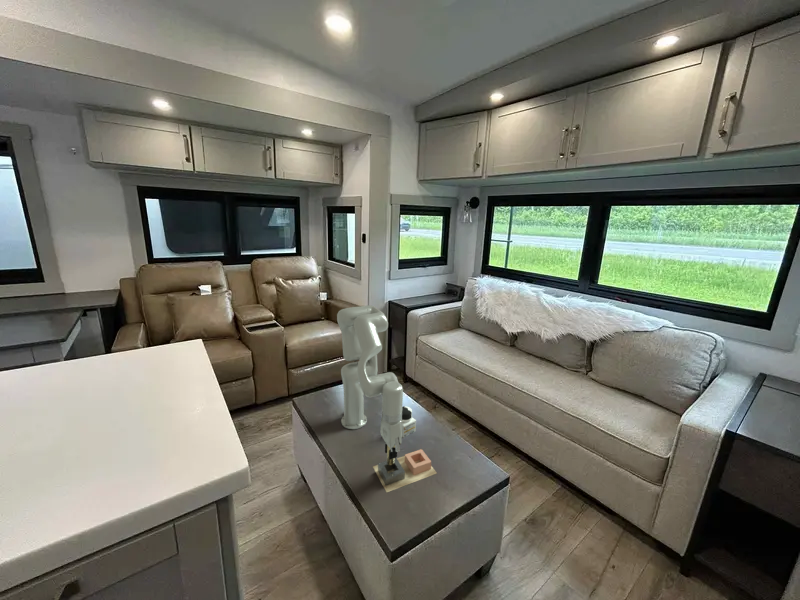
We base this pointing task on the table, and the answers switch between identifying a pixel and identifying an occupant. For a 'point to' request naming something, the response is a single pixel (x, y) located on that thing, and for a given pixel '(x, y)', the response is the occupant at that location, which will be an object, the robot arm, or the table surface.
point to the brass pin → (389, 462)
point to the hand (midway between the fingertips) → (390, 454)
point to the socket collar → (417, 467)
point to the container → (407, 422)
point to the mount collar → (392, 476)
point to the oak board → (408, 476)
